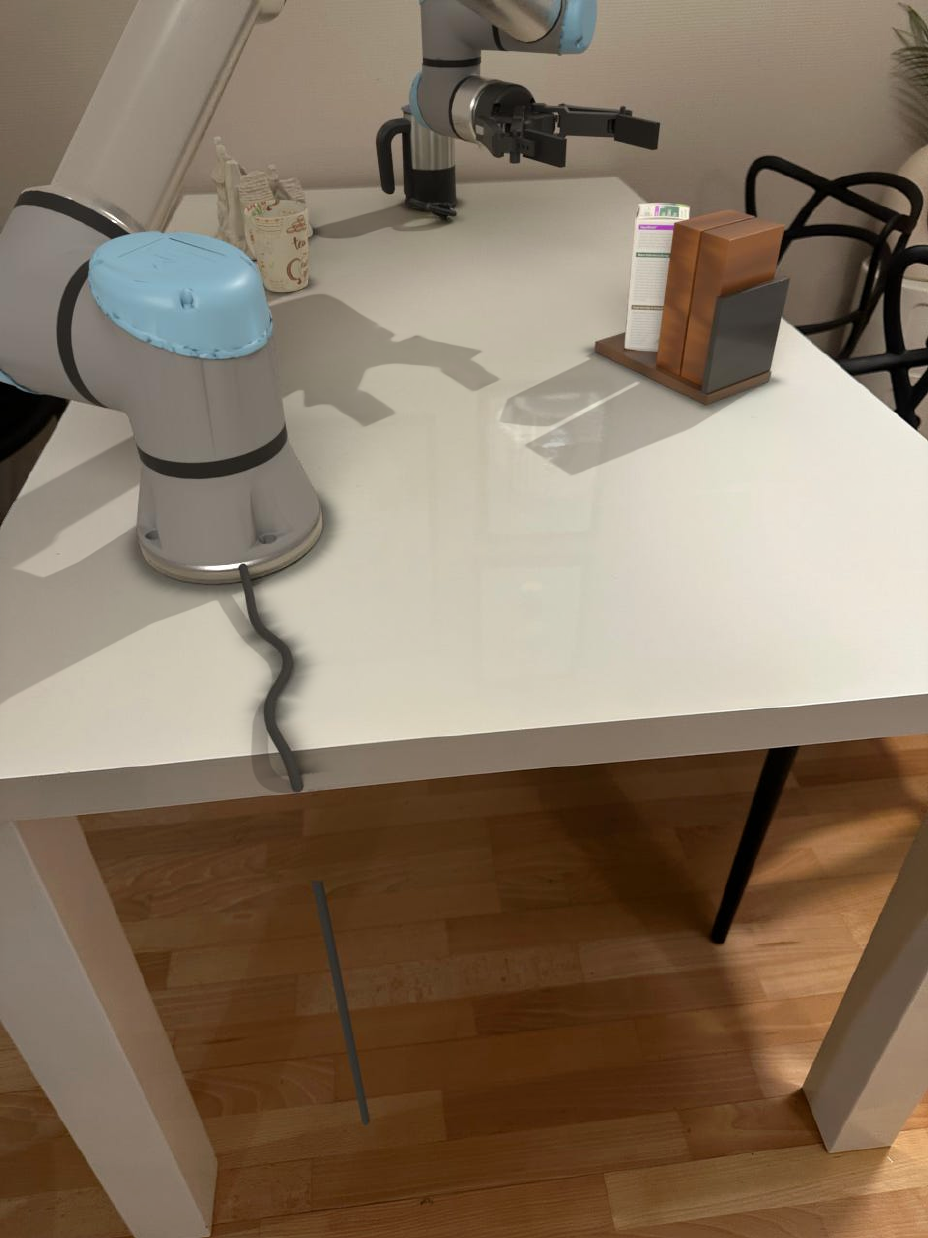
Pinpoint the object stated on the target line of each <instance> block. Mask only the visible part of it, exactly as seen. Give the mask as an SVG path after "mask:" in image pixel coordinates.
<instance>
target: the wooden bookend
mask: <svg viewBox="0 0 928 1238" xmlns="http://www.w3.org/2000/svg"><path fill="white" fill-rule="evenodd" d="M785 227H786V225H785V224H782V223H780V222H775V221H772V220H770V219H769V220H768V219H765V218H762V217H758V216H755V215H752V214H748V213H744V212H741V211H739V210H735V209H731V208H727V209H722V210H719V211H716V212H711V213H707V214H704V215H703V214H702V215H700V216H695V217H692V218H689V219H687V220H683V221H679V222H675V223H674V228H673V236H672V244H671V252H670V259H669V267H668V275H667V283H666V291H665V298H664V306H663V314H662V322H661V330H660V337H659V345H658V352H654V351H638V350H630V349H625V347H624V344H625V331H624V332H621V333H618V334H614V335H611V336H609V337H606V338H602V339H599V340H596V341H595V342H594V352H596V353H598V354H599V355H602V356H604V357H606V358H608V359H609V360H612V361H614V362H616V363H618V364H621V365H622V366H624V367H626V368H629V369H630V370H633V371H635V372H637V373H638V374H641V375H642V376H645V377H646V378H649V379H651V380H653V381H655V382H658V383H660V384H662V386H663V385H664V386H665V387H668V388H669V389H671V390H674V391H676V392H678V393H680V394H682V395H684V396H686V397H688V398H691V399H692V400H694V401H697V402H699V403H700V404H702V405H705V406H708V405H711V404H713V403H716V402H718V401H721V400H723V399H724V400H725V399H726V398H728V397H729V398H730V397H731V396H734V395H737V394H739V393H742V392H744V391H748V390H749V389H753V388H755V387H757V386H758V387H759V386H761V385H763V384H765V383H766V384H767V383H769V382H770V381H771V376H772V370H771V369H772V365H773V361H774V355H775V350H776V345H777V342H778V336H779V332H780V327H781V323H782V318H783V313H784V308H785V304H786V300H787V299H786V298H787V295H788V290H789V287H790V286H789V285H790V281H791V277H789V276H787V275H781V276H778V277H775V276H776V272H777V271H776V270H777V267H778V262H779V256H780V251H781V246H782V242H783V236H784V232H785Z"/></svg>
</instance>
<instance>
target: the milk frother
mask: <svg viewBox="0 0 928 1238" xmlns="http://www.w3.org/2000/svg"><path fill="white" fill-rule="evenodd" d="M400 110H401V111H402V116H403V117H399V118H392V119H388V120H386V121H385V122H384V123H383V124H381V126H380V127H379V129H378V131H377V133H376V136H375V149H376V155H377V156H376V157H377V164H378V165H377V167H378V173H379V180H380V181H379V182H380V188H381V191H382V192H383V193H385V194H386V195H393V194H394V193H395V192H396V182H395V172H394V171H395V170H394V161H393V151H392V142H393V139H394V138H395V136H397V135H400V134H401V144H402V145H401V147H402V166H403V167H402V171H403V174H402V176H403V193H404V196H405V199H404V204H405V205H406V206H407V207H408V208H410V209H411V208H412V209H416V210H422V211H423V210H424V211H425V210H426V212H429V213H431V214H433V215H434V216H436V217H438V218H440V220H441V221H447V220H448V217H454V218H455V217H457V215H458V211H457V208H454V209H453V208H452V207H454V206H456V205H457V204H459V200H458V198H457V180H456V179H457V178H456V138H452V137H448V136H442V135H439V134H436V133H434V132H433V131H431V130H429V129H426V128H424V127H422V126H421V125H420V124H419V123H418V122H417V121H416V120H415V119H414V117H413V115H412V113H411V110H410V106H409V103H407V104H404V105H402V106H401V107H400Z"/></svg>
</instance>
